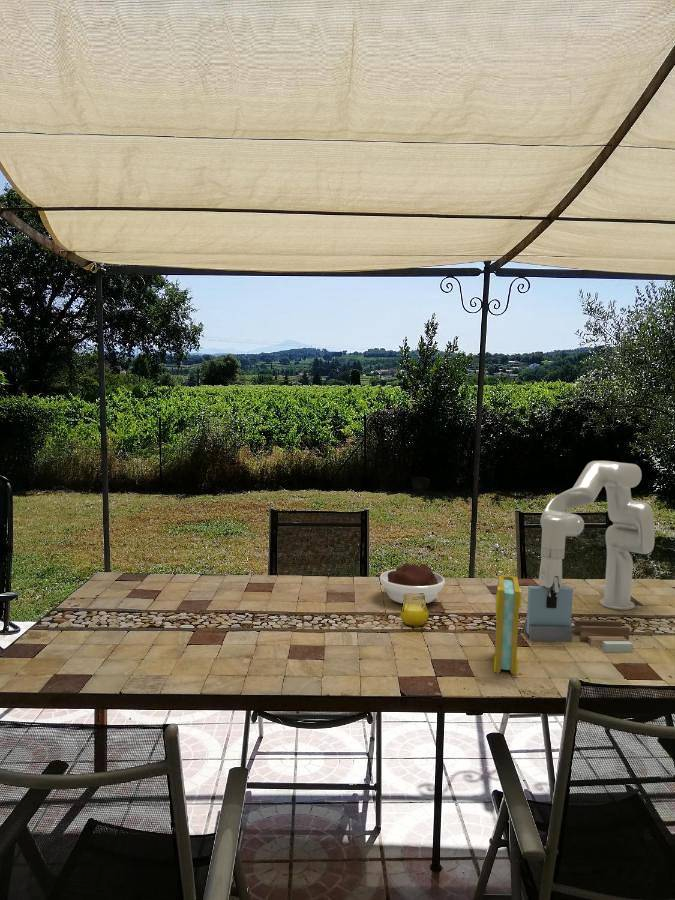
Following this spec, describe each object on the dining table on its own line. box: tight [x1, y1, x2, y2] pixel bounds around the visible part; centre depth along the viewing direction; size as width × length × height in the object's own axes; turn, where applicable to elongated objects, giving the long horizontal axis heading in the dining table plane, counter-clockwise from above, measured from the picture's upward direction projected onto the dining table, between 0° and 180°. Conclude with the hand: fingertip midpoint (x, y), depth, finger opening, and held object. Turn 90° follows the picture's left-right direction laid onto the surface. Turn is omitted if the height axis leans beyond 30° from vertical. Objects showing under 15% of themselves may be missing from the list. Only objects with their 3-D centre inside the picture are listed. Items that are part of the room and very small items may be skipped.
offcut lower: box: [586, 636, 628, 648], centre depth 235 cm, size 4×12×2 cm, turn 92°
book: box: [493, 574, 522, 675], centre depth 217 cm, size 17×7×25 cm, turn 168°
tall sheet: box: [526, 585, 574, 635], centre depth 240 cm, size 3×14×16 cm, turn 91°
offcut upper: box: [601, 640, 634, 653], centre depth 230 cm, size 3×9×2 cm
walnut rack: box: [573, 619, 631, 643], centre depth 241 cm, size 7×16×5 cm, turn 91°
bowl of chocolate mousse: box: [379, 562, 446, 604], centre depth 275 cm, size 25×25×15 cm
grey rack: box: [523, 618, 574, 643], centre depth 240 cm, size 7×14×5 cm, turn 91°
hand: (549, 605), depth 239 cm, fingers closed on tall sheet, 3 cm apart
